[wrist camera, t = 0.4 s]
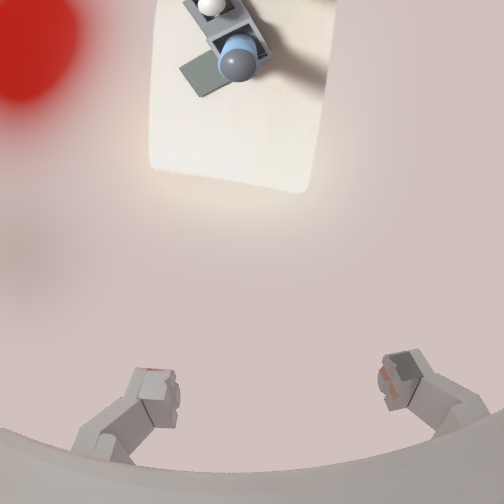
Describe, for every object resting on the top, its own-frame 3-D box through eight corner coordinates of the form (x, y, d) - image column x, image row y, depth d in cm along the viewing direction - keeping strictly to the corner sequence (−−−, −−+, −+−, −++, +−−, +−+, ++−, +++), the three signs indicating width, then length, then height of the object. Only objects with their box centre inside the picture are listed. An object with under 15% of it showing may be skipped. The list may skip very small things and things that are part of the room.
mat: (179, 67, 46) (178, 68, 45) (213, 48, 43) (213, 49, 43) (199, 96, 50) (199, 97, 50) (233, 78, 48) (233, 79, 48)
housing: (184, 1, 36) (179, 3, 33) (227, -21, 33) (225, -22, 30) (231, 71, 47) (230, 77, 44) (272, 52, 44) (274, 57, 41)
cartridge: (219, 40, 40) (209, 59, 31) (246, 27, 39) (246, 40, 29) (234, 63, 44) (230, 90, 34) (261, 51, 42) (265, 73, 33)
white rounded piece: (195, 0, 34) (192, 1, 32) (218, -11, 33) (216, -12, 31) (208, 18, 37) (206, 20, 35) (230, 7, 36) (229, 8, 34)
